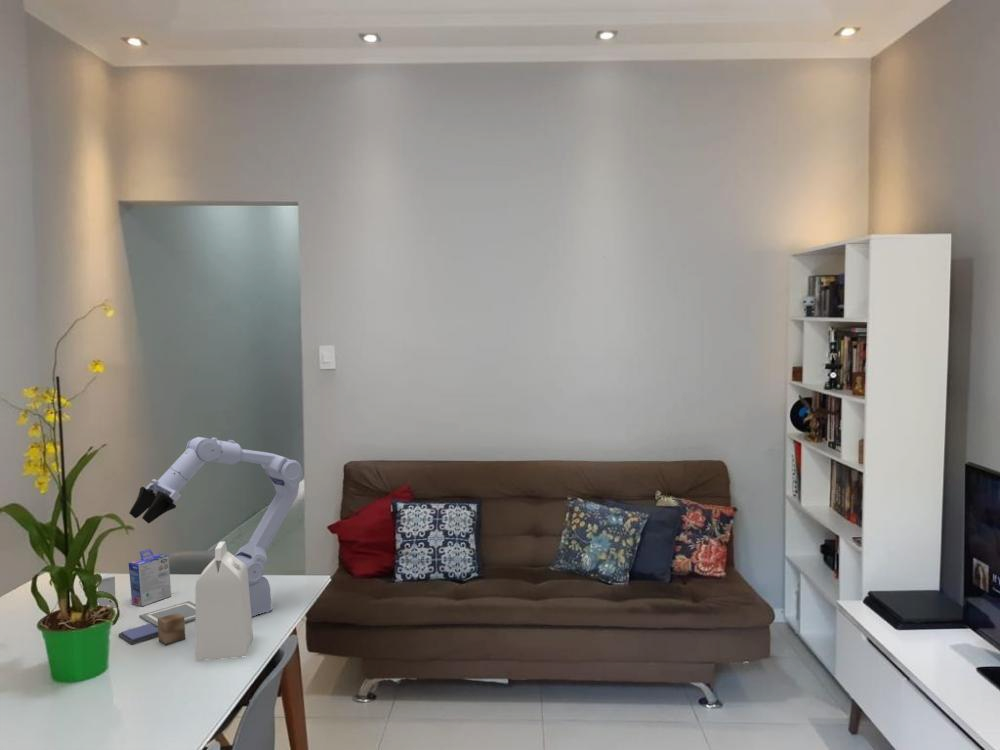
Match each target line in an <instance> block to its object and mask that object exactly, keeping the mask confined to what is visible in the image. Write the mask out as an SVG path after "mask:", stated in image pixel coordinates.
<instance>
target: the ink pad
mask: <svg viewBox="0 0 1000 750" xmlns="http://www.w3.org/2000/svg"><path fill="white" fill-rule="evenodd" d="M118 638H120V639H122V640H123V641H124V642H126V643H128V644H129V645H131V646H133V645H136V644H139V643H142V642H146V641H150V640H152V639H155V638H159V635H158V628H156V627H155V626H153V625H151V624H150V623H147V624H143V625H139V626H136V627H133V628H131V629H130V628H129V629H127V630H124V631H123V630H122V631H121V632H119V633H118Z"/></svg>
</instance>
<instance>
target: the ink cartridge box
mask: <svg viewBox="0 0 1000 750" xmlns="http://www.w3.org/2000/svg"><path fill="white" fill-rule="evenodd" d="M146 553H149V554H146ZM139 554H140V555H139V556H140V559H136V560H133V561H131V562H128V573H129V583H130V595H131V604H133V605H135V606H137V607H144V606H148V605H150V604H152V603H153V604H154V603H155V602H158V601H161V600H164V599H167V598H170V597H172V589H171V588H172V587H171V576H170V575H171V573H170V557H169V555H166V554H162V553H156V554H154V553H153V550H152V549H151V548H149V549H144V550H141V551H139ZM144 554H145V555H144Z"/></svg>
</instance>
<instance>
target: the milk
mask: <svg viewBox="0 0 1000 750" xmlns="http://www.w3.org/2000/svg"><path fill="white" fill-rule="evenodd" d="M196 579H197V580H196V582H195V588H194V589H195V592H194V593H195V600H194V601H195V603H194V604H195V618H196V621H195V661H196V660H204V661H206V660H205V659H215V660H222V659H221V658H227V659H232V658H231V657H238V658H243V657H242V656H246V657H247V655H248V652H249V650H248V649H250V647H249V646H251V644H252V641H253V638H254V633H253V632H254V631H253V618H252V617H251V606H250V593H249V581H248V570H247V567H246V565H245V564H244V563H243V562H242V561H240V560H239V559H237V558H236V557H235V556H234V554H232V553H231V552H230V551H228V549H227V543H226V541H224V540H223V541H218V543H217V545H216V547H215V548H214V558H213V559H212V560H211V561H210V562H209V563H208V565H206V566H205V568H204V569H203V570H202V571H201V573H200V575H199V576H198V578H196ZM250 643H251V644H250Z"/></svg>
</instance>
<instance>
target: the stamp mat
mask: <svg viewBox="0 0 1000 750" xmlns="http://www.w3.org/2000/svg"><path fill="white" fill-rule="evenodd" d="M175 613H178V614H180V615H182V616H184V622H185V624H189V623H192V622H196V618H195V603H194V602H192V601H190V600H188V601H183V602H180V603H177V604H174V605H171V606H167V607H164V608H160V609H157V610H153V611H150V612H147V613H143V614H140V615H139V616H138V617H139V619H141V620H142V621H145V622H146V623H147V624H150V625H152V626H154V627H155V628H157V629H158V618H161V617H165V616H168V615H171V614H175Z"/></svg>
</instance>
